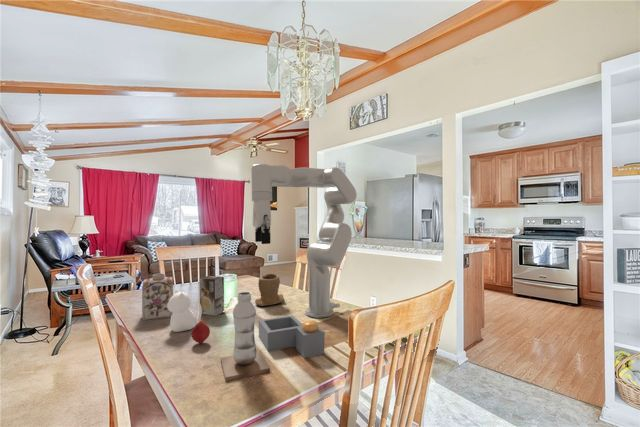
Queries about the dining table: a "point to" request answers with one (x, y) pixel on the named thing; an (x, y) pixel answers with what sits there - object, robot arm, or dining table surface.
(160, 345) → the dining table surface
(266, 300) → the stone cup
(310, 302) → the robot arm
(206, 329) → the onion
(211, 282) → the coffee box
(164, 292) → the decorative jar
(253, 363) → the pad
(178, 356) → the dining table surface
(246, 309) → the plastic bottle
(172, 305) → the cat figurine
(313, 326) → the orange egg-shaped ball
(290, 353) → the dining table surface
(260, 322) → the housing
